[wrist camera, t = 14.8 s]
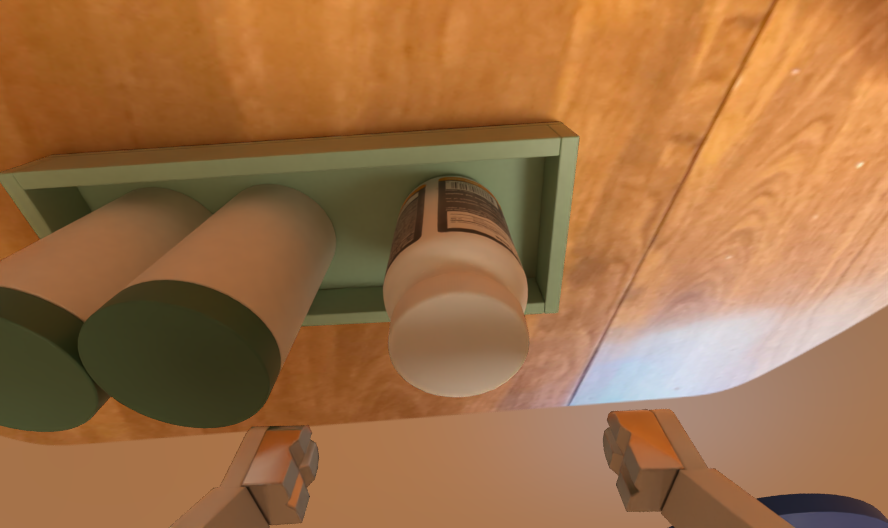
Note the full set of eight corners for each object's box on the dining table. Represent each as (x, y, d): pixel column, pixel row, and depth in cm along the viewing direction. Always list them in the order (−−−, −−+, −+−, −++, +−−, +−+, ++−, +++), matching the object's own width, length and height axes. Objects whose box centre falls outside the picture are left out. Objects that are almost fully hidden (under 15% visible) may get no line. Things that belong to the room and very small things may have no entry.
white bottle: (342, 280, 23) (285, 429, 14) (242, 279, 23) (124, 429, 14) (328, 184, 20) (243, 302, 11) (210, 183, 20) (37, 301, 11)
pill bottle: (431, 280, 23) (426, 427, 15) (378, 202, 20) (333, 326, 12) (519, 239, 22) (570, 376, 13) (474, 150, 19) (501, 249, 10)
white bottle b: (244, 279, 23) (129, 429, 14) (146, 285, 23) (-26, 436, 14) (205, 183, 20) (28, 301, 11) (92, 190, 20) (-169, 312, 11)
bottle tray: (561, 121, 19) (580, 135, 16) (545, 282, 24) (558, 313, 21) (52, 154, 19) (-7, 174, 17) (142, 304, 24) (107, 337, 22)
